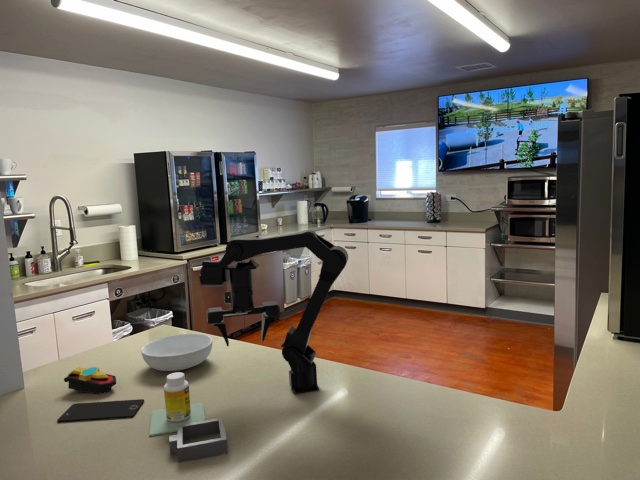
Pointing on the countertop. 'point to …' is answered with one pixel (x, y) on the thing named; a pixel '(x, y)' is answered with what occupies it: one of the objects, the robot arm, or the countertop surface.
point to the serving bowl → (177, 351)
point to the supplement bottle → (177, 397)
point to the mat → (165, 426)
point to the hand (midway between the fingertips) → (245, 343)
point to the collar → (199, 448)
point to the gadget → (90, 380)
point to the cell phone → (101, 410)
